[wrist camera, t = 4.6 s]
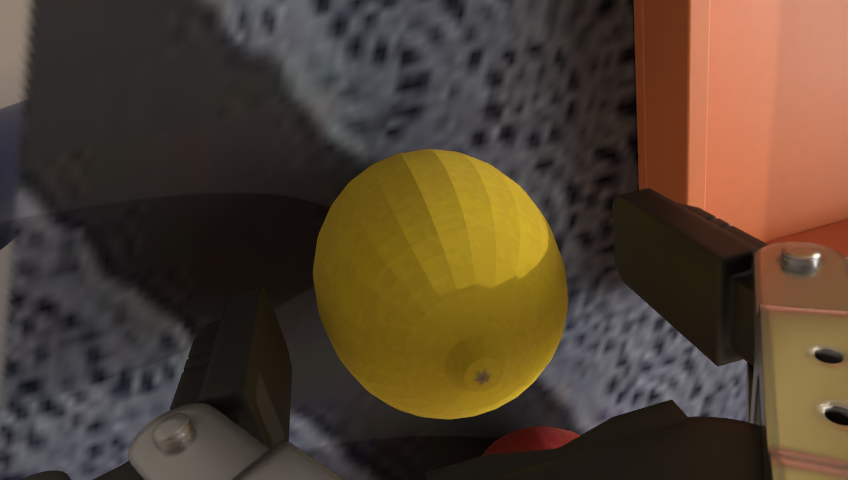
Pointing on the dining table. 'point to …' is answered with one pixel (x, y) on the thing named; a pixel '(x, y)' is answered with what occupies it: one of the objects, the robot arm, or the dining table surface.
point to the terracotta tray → (747, 113)
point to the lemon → (440, 284)
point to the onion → (531, 440)
